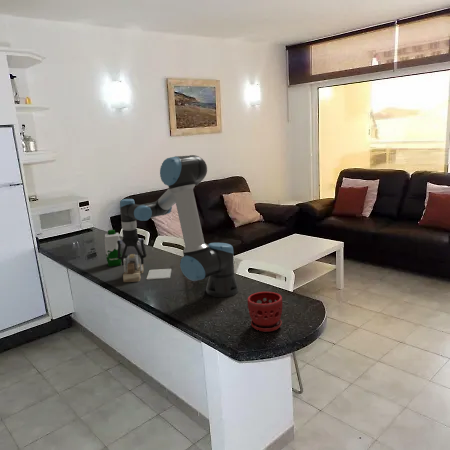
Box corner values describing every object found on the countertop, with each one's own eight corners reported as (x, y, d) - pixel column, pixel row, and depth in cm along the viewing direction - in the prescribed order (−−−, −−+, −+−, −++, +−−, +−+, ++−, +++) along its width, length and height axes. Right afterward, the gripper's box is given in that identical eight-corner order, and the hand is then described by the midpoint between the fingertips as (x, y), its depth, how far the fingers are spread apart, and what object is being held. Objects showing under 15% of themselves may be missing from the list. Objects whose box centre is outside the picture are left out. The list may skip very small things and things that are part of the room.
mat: (169, 278, 212) (169, 277, 212) (146, 279, 211) (146, 278, 211) (171, 269, 225) (171, 268, 225) (149, 270, 225) (149, 269, 224)
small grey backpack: (146, 254, 258) (135, 247, 274) (145, 241, 256) (134, 235, 272) (123, 258, 250) (113, 251, 267) (121, 245, 248) (111, 239, 265)
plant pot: (281, 318, 162) (280, 290, 159) (284, 334, 149) (283, 303, 146) (248, 318, 162) (247, 290, 160) (248, 334, 150) (247, 304, 147)
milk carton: (122, 261, 244) (119, 228, 240) (122, 265, 236) (119, 232, 231) (107, 262, 242) (103, 230, 238) (107, 267, 233) (103, 233, 229)
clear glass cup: (137, 270, 214) (136, 256, 212) (127, 271, 213) (126, 256, 212) (138, 266, 219) (137, 253, 218) (129, 267, 219) (128, 253, 217)
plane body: (139, 281, 209) (137, 264, 207) (123, 282, 209) (122, 265, 207) (143, 270, 226) (142, 254, 224) (128, 271, 225) (127, 255, 223)
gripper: (150, 226, 216) (153, 267, 221) (111, 228, 215) (115, 269, 220) (148, 229, 209) (152, 271, 214) (108, 231, 207) (112, 274, 212)
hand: (133, 270), depth 217 cm, fingers open, 8 cm apart
